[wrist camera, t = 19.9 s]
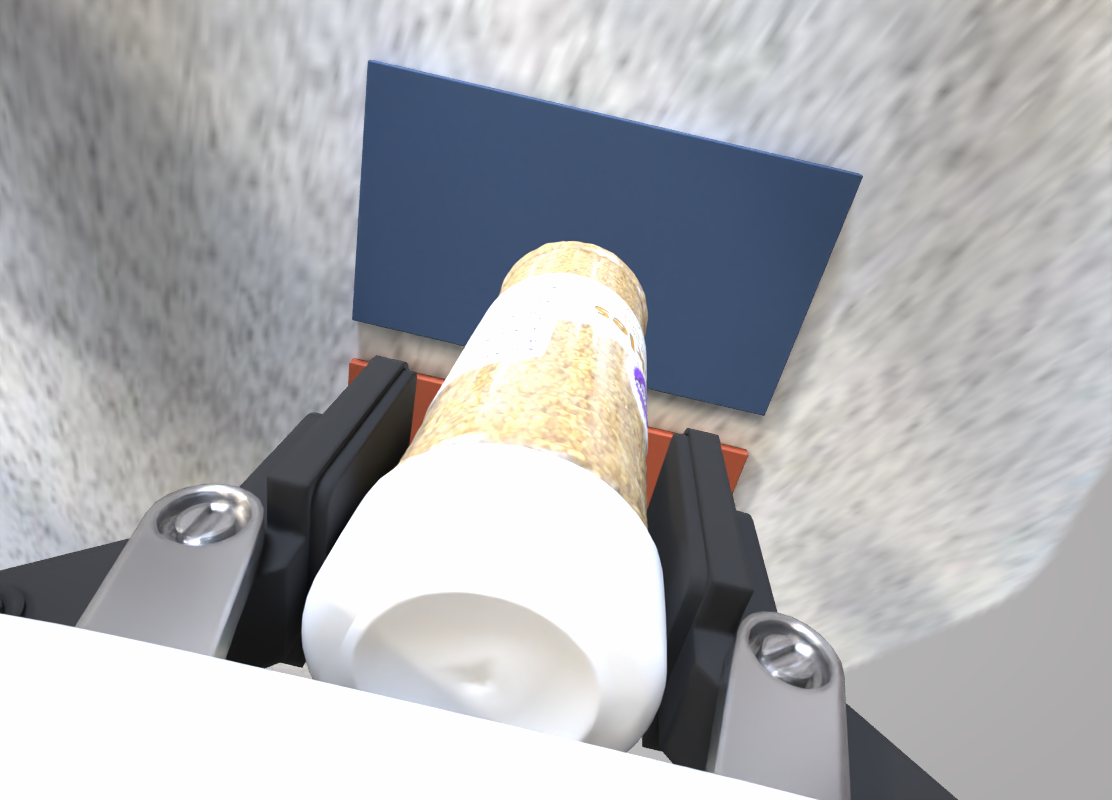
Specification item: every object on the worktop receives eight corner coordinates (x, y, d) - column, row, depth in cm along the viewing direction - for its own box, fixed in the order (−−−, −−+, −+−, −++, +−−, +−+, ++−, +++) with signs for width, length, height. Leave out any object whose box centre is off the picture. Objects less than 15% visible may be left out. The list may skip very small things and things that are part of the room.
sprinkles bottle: (670, 347, 20) (727, 770, 8) (537, 399, 21) (413, 831, 9) (609, 207, 18) (564, 477, 6) (469, 273, 19) (208, 601, 7)
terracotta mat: (342, 530, 34) (338, 536, 33) (353, 357, 29) (349, 362, 29) (681, 609, 34) (682, 616, 33) (746, 449, 29) (748, 455, 29)
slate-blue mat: (356, 316, 28) (351, 320, 28) (372, 59, 23) (367, 59, 23) (762, 410, 28) (764, 416, 28) (859, 173, 23) (863, 175, 23)
